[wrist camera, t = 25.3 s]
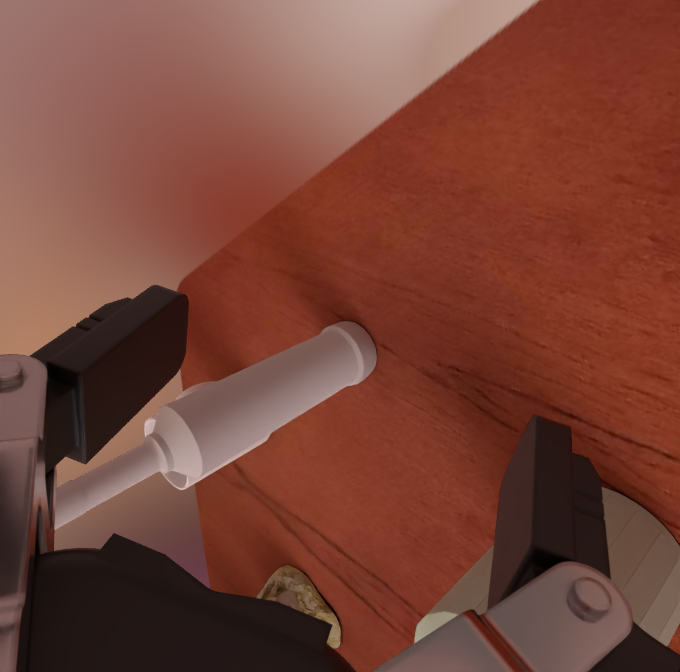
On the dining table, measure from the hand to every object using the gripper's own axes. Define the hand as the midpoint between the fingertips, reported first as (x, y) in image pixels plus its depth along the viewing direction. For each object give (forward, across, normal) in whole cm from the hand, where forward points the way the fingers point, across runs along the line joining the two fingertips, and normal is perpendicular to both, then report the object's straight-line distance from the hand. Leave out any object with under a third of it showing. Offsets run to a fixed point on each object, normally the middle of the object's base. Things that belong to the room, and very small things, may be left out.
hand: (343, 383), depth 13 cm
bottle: (+30, +4, +18) cm, 35 cm away
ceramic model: (+34, +3, +60) cm, 69 cm away
